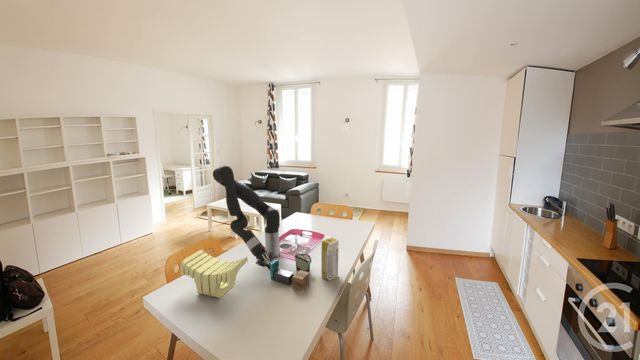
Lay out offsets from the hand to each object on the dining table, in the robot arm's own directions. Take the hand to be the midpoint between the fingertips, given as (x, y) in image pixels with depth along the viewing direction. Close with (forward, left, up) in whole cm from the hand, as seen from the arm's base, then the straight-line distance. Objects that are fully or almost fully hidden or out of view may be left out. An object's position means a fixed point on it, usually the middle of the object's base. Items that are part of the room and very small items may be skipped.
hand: (272, 270), depth 158 cm
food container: (-15, +13, -5) cm, 21 cm away
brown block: (0, +19, -5) cm, 20 cm away
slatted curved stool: (+23, -20, -5) cm, 31 cm away
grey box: (0, +10, -5) cm, 11 cm away
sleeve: (0, +8, -5) cm, 9 cm away
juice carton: (-16, +29, -5) cm, 34 cm away
